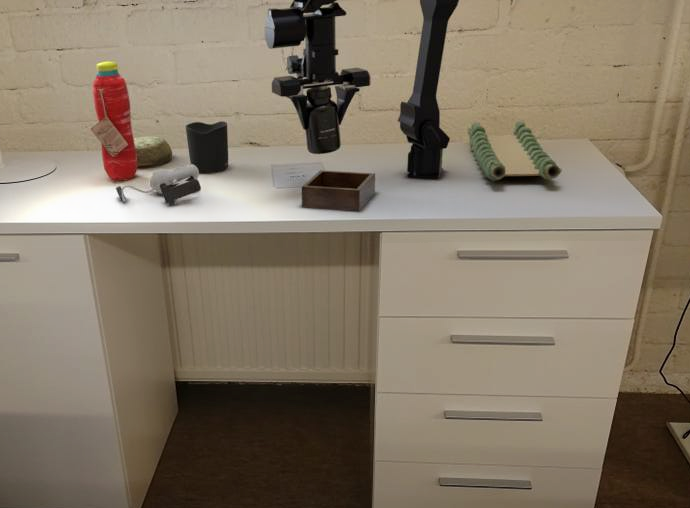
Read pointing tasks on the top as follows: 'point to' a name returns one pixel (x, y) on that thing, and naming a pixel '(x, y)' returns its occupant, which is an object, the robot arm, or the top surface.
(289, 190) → the top surface
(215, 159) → the pen holder
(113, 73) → the water bottle
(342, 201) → the holder
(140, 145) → the mossy green stone
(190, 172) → the clip-on lamp
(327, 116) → the supplement bottle
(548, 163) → the stretcher
